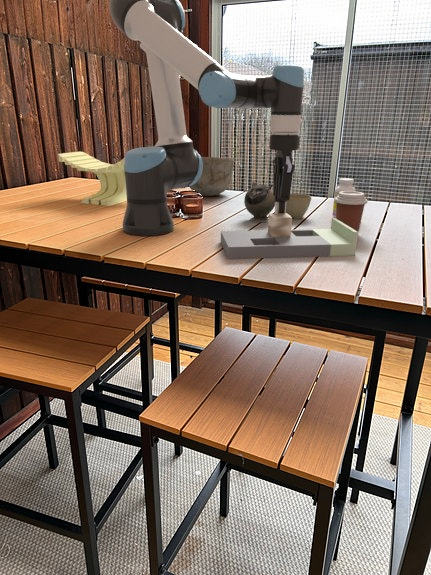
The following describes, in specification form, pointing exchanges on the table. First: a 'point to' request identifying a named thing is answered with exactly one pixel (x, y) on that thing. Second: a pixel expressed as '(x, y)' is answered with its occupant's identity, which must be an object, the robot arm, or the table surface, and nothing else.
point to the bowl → (214, 176)
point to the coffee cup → (350, 208)
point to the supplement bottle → (344, 185)
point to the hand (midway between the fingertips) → (279, 224)
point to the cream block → (279, 225)
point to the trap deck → (291, 243)
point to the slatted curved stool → (100, 177)
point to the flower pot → (297, 205)
